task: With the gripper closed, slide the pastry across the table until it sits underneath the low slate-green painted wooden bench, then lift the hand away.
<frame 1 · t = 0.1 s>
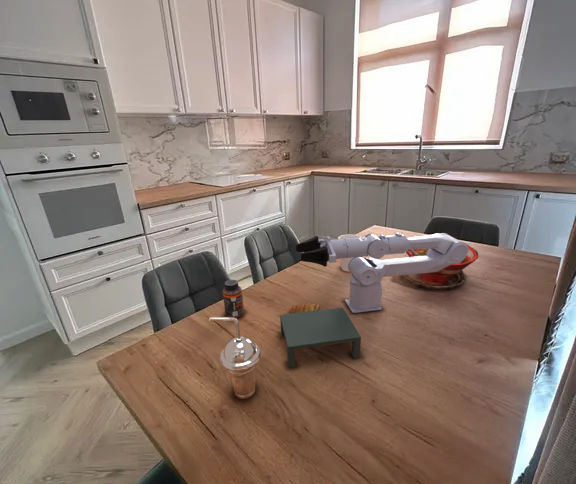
hand: (298, 252, 90), 20 cm above the table, tool horizontal, fingers open, 7 cm apart
pastry: (307, 316, 96), on the table
stew: (430, 279, 114), on the table, touching arm
foam cup: (349, 268, 127), on the table
bench: (318, 344, 83), on the table
cup with straw: (244, 391, 70), on the table
supplement bottle: (235, 314, 99), on the table
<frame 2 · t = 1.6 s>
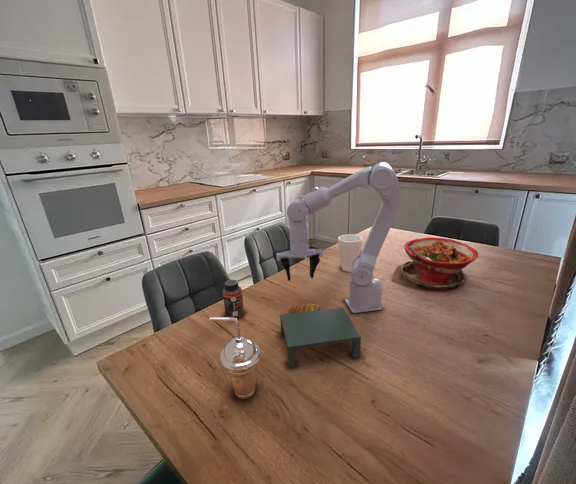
hand: (300, 278, 101), 8 cm above the table, tool pointing down, fingers open, 7 cm apart
stew: (431, 279, 114), on the table
everything else where it was.
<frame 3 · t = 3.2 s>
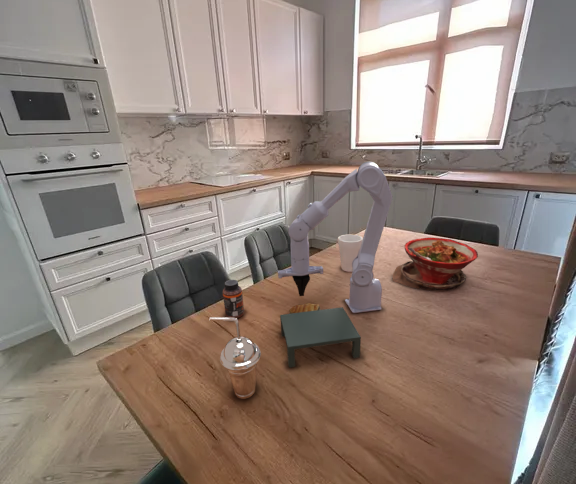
hand: (301, 294, 103), 3 cm above the table, tool pointing down, fingers closed
nothing on the table moved.
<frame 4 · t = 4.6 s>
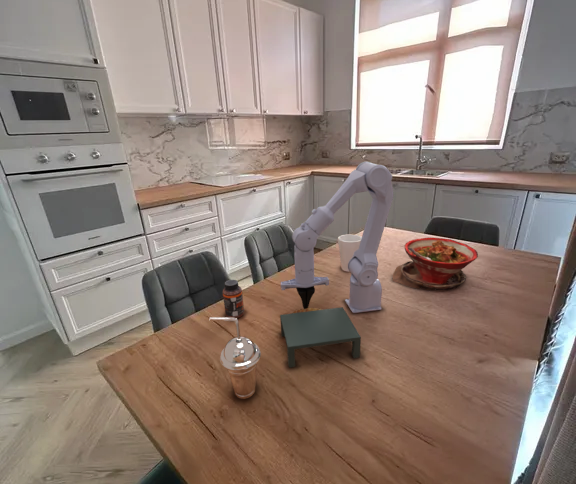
hand: (305, 307, 97), 2 cm above the table, tool pointing down, fingers closed, pressing on pastry
pastry: (309, 321, 94), on the table, touching gripper
everything else where it was.
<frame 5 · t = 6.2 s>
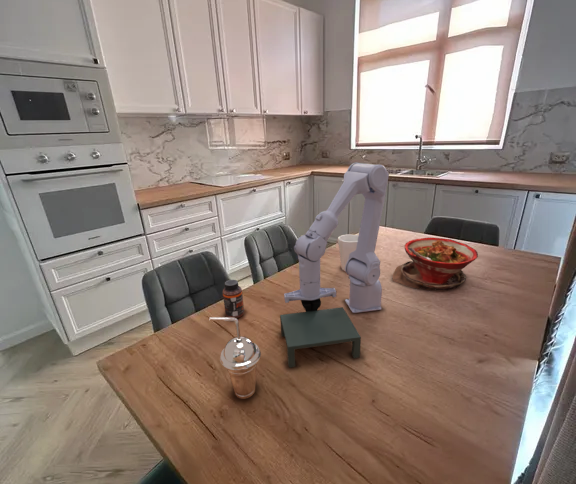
hand: (310, 319, 90), 2 cm above the table, tool pointing down, fingers closed, pressing on bench, pastry
pastry: (315, 335, 87), on the table, touching gripper
everything else where it was.
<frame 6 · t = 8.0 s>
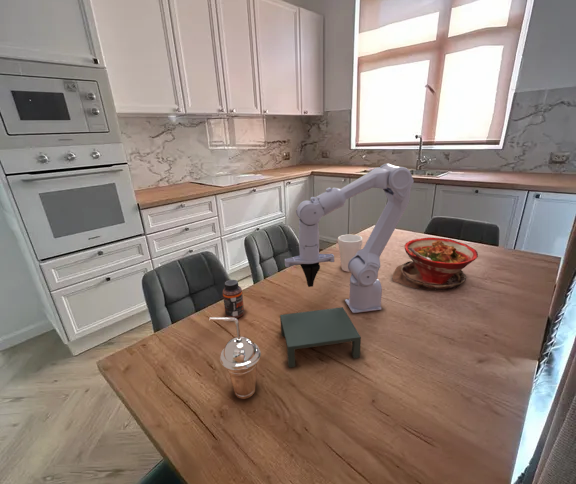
hand: (310, 285, 95), 9 cm above the table, tool pointing down, fingers closed
pastry: (315, 335, 87), on the table
everything else where it was.
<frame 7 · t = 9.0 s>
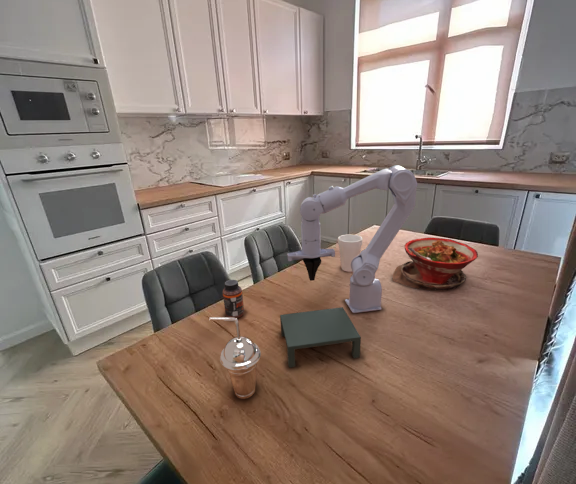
hand: (311, 279, 98), 9 cm above the table, tool pointing down, fingers closed
nothing on the table moved.
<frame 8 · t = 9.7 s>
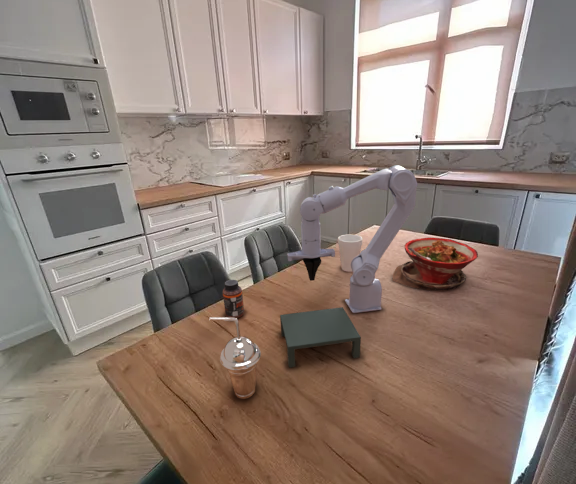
hand: (311, 279, 98), 9 cm above the table, tool pointing down, fingers closed
nothing on the table moved.
at the end: pastry inside the target area (4.9 cm from its centre), on the table; pastry moved 9.9 cm from its start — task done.
